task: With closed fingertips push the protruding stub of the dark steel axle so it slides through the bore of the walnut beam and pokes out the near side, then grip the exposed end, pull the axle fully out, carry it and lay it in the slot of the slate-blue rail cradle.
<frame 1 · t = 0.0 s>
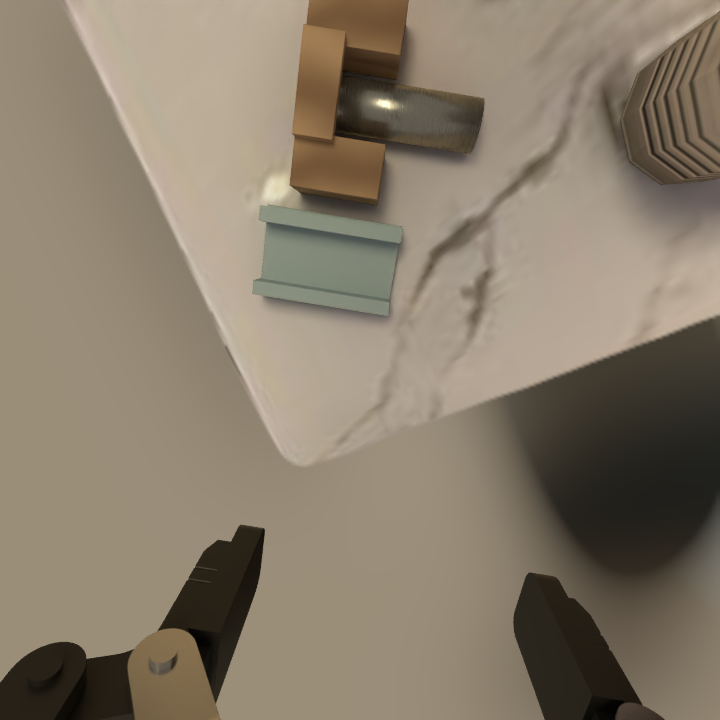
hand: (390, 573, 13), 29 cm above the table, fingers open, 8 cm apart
can: (687, 114, 35), on the table
beam: (350, 112, 36), on the table
axle: (391, 113, 34), point 2 cm above the table
cradle: (330, 261, 39), on the table
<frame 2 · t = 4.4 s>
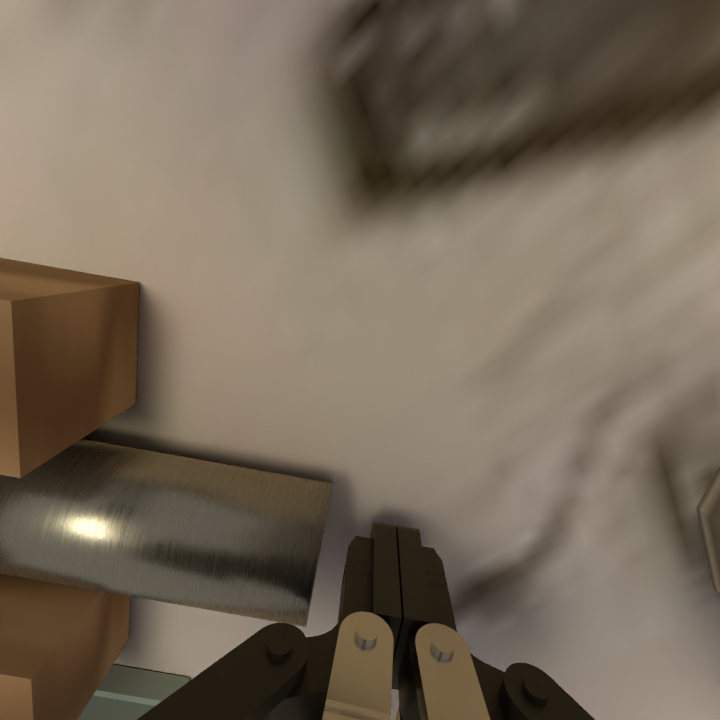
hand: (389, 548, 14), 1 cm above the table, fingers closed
beam: (34, 465, 14), on the table
axle: (94, 510, 13), point 2 cm above the table, tilted 5°, touching gripper
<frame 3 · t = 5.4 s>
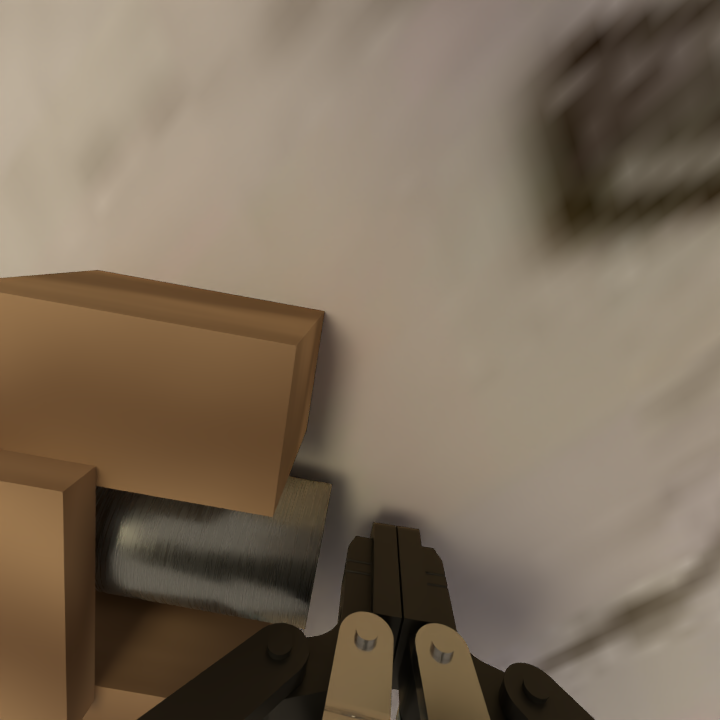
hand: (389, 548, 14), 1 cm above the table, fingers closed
beam: (195, 490, 15), on the table
axle: (91, 509, 13), point 2 cm above the table, touching gripper
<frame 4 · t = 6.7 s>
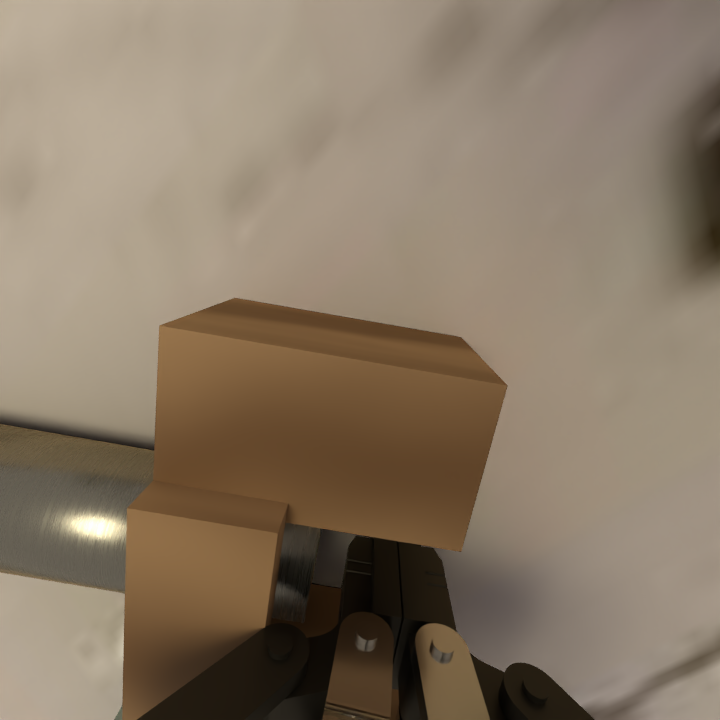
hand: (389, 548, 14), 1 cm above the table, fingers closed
beam: (316, 513, 15), on the table
axle: (91, 508, 13), point 2 cm above the table
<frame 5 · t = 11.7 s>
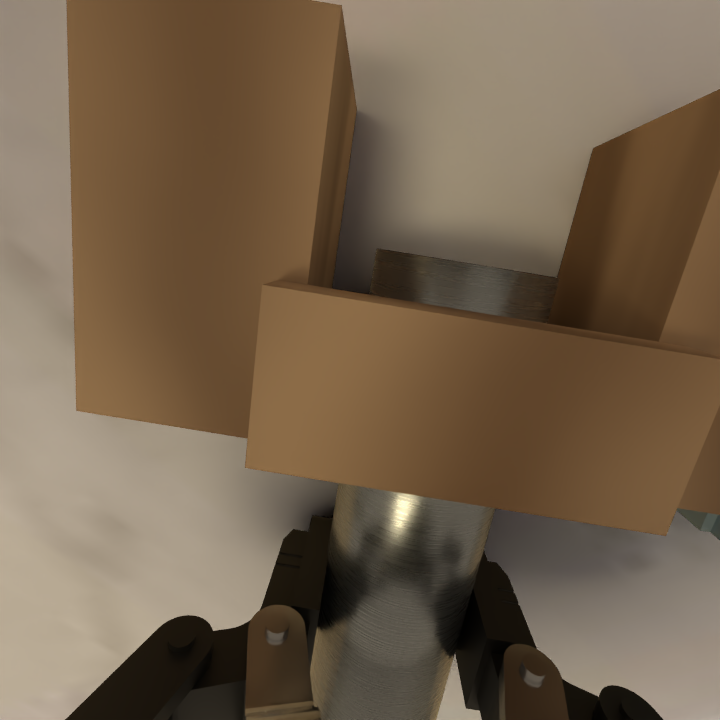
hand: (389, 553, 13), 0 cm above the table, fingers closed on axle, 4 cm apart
beam: (445, 269, 11), on the table
axle: (406, 526, 11), point 2 cm above the table, touching gripper
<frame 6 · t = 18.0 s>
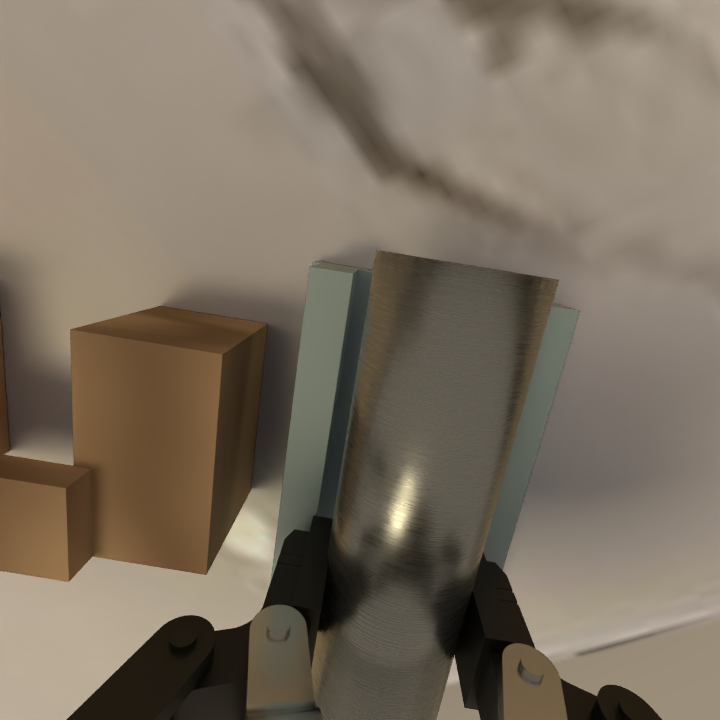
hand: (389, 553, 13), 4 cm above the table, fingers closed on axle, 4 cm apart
beam: (80, 382, 16), on the table
axle: (406, 527, 11), point 5 cm above the table, touching gripper
cradle: (398, 434, 16), on the table
when the fingers open (4 cm above the table, at t = 18.2 s): axle drops 2 cm, resting on cradle.
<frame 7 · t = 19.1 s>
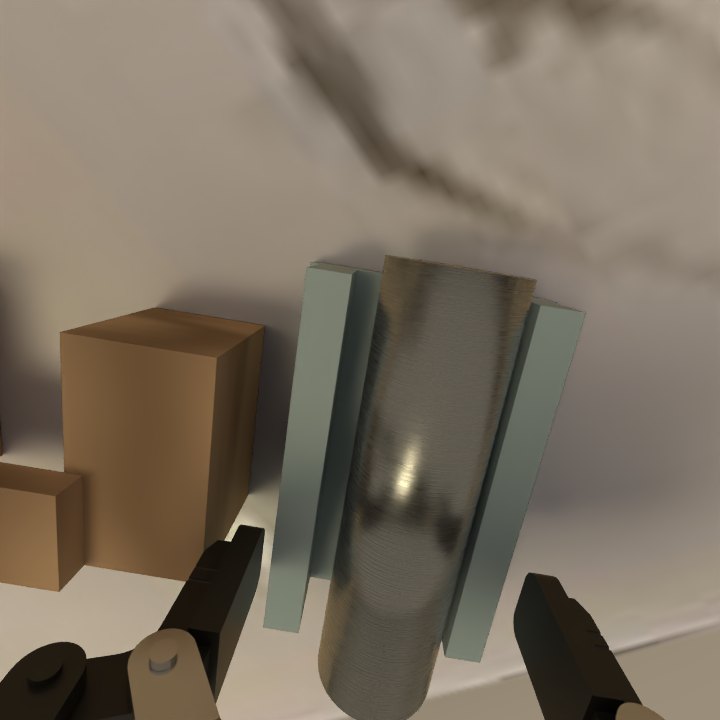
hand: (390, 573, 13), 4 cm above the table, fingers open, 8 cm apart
beam: (74, 385, 16), on the table
axle: (410, 492, 13), point 3 cm above the table, touching cradle
cradle: (398, 438, 16), on the table
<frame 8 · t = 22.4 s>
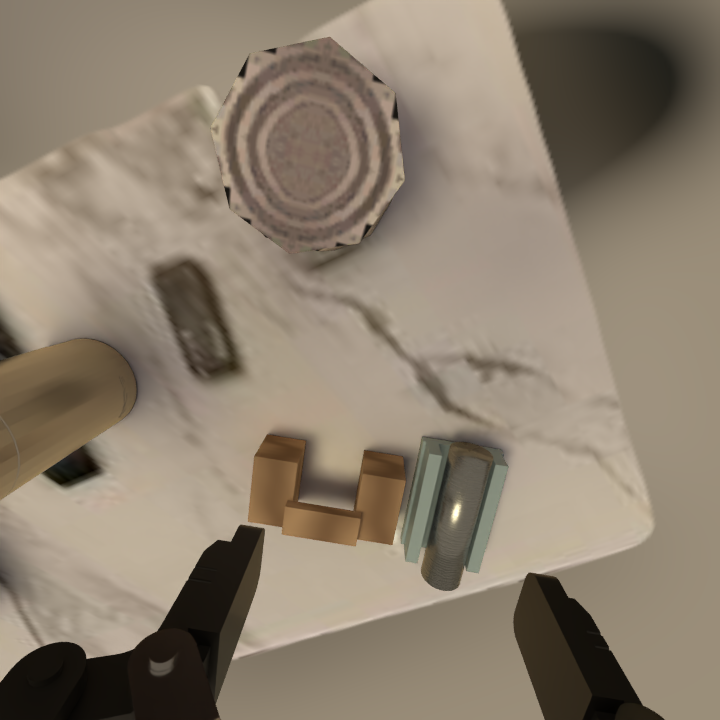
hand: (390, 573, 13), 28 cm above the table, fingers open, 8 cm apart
can: (329, 183, 36), on the table
beam: (330, 475, 43), on the table
axle: (455, 516, 41), point 3 cm above the table, touching cradle
cradle: (448, 495, 43), on the table
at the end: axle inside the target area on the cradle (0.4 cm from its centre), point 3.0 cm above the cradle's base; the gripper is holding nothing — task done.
